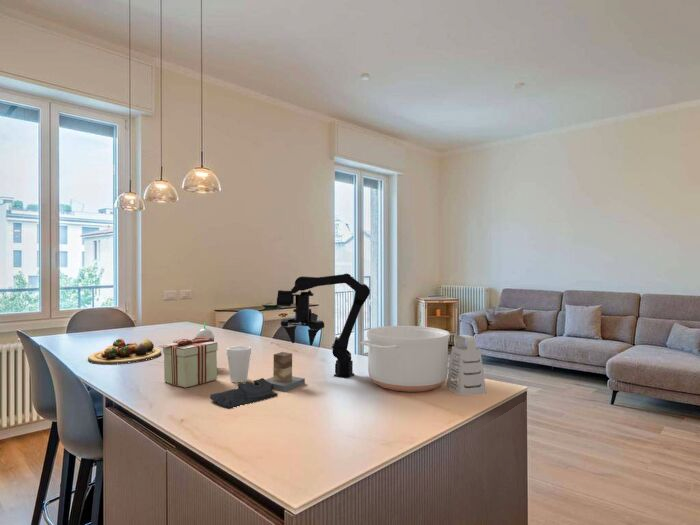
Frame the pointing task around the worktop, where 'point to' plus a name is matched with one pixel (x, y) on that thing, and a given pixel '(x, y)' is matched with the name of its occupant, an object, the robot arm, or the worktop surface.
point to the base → (286, 383)
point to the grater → (466, 367)
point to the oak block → (282, 374)
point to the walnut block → (282, 360)
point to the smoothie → (205, 333)
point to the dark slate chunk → (245, 394)
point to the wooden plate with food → (125, 353)
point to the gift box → (190, 361)
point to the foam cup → (238, 362)
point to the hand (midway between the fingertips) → (302, 344)
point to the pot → (407, 357)
